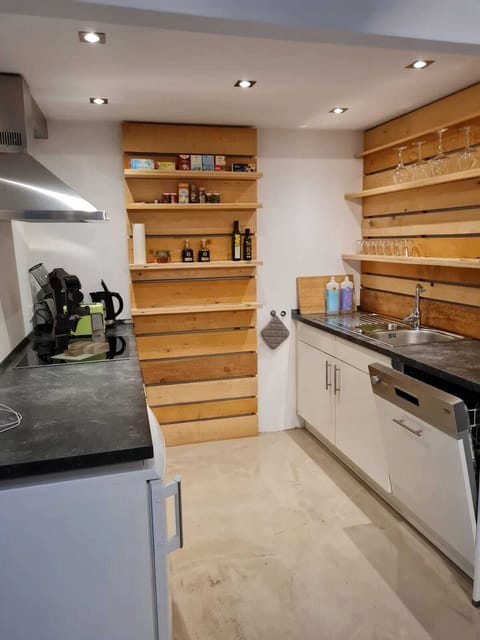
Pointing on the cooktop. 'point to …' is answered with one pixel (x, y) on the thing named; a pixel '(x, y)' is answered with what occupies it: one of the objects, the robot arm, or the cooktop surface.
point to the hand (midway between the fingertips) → (74, 332)
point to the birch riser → (90, 347)
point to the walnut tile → (73, 352)
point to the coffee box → (97, 327)
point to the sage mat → (62, 356)
